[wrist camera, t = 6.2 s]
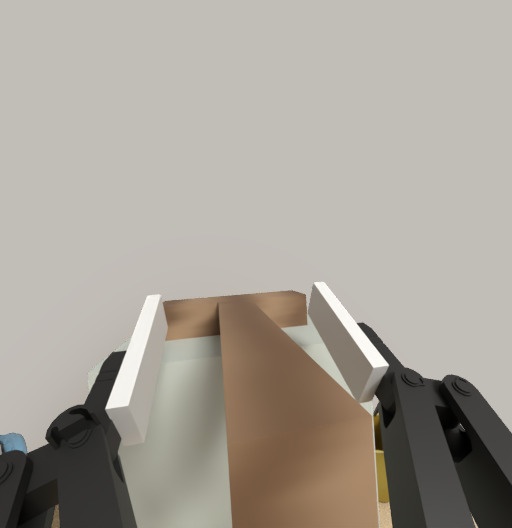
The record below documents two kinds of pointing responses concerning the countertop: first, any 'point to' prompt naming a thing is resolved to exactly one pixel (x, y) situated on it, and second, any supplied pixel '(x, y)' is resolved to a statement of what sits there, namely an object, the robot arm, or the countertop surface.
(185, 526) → the stand
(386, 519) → the countertop surface
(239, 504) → the T-bar
